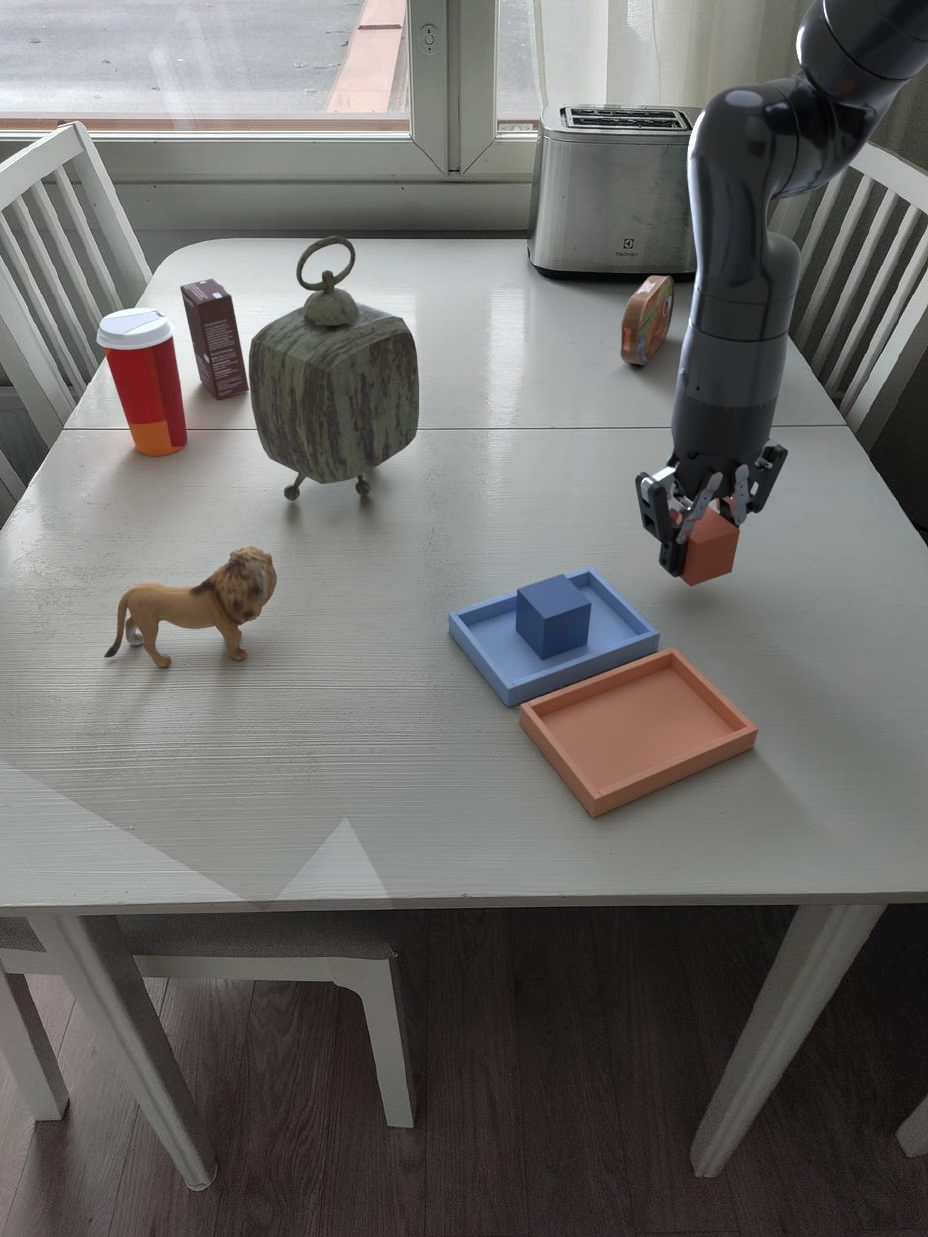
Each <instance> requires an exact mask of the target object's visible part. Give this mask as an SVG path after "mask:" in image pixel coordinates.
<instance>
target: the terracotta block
mask: <svg viewBox="0 0 928 1237" xmlns="http://www.w3.org/2000/svg"><path fill="white" fill-rule="evenodd" d="M681 519H682V516H681V514H679V516H678V519H677V521H676V523H678V524H680V521H681ZM740 533H741V530H740V528H739V529H738V528H737V527H735V526H734V525H733V524H732V523H730V522H729V521H728V520H726V519H725V518H724V517H722V516H721V515H720V514H719V512H717V511H716V510H715V509H713V507H711V506H709V505H708V507H707V509H706V511H705V513H704V516H703V518H702V519H701V520H697V521H696V522H695V525H694V527H693V529H692V532H691V534H690V536H689V539H688V540H687V541H688V542H689V544H688V550H687V556H686V562H685V568H684V573H683V575H682V576H679V579H681V580H682V581H683V582H685V583H686V585H688V586H689V587H693V586H696V585H699V584H702V583H704V582H708V581H711V580H713V579H717V578H719V577H722V576H725V575H727V574H730V573H732V571H733V567H734V562H735V557H736V552H737V548H738V543H739V539H740Z"/></svg>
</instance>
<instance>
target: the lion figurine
mask: <svg viewBox="0 0 928 1237" xmlns="http://www.w3.org/2000/svg"><path fill="white" fill-rule="evenodd" d="M229 556H230V557H229V559H228V561H227V562H226V563H224V565H222V566H219V568H218V569H216V570H215V571H214V572H213V573H212V575H210V576H208V577H207V578H205V580H203V581H201V583H200V584H198V585H190V586H188V585H187V586H170V585H169V586H168V585H164V584H160V583H158V582H152V581H149V582H143V583H139V584H137V585H134V586H133V587H132V588H130V589H127V590H126V591H125V592H124V593H123V595H122V596H121V597H120V600H119V602H118V607H117V613H116V614H117V616H116V617H117V619H116V620H117V621H116V637H115V640H114V641H113V644H112V645H111V646H110V647H109V648H108V650H107V651H106V653H105V654H104V655H103V658H105V659H107V658H113V657H114V656H116V654H117V653H118V652H119V650H120V648H121V647H122V646H121V645H122V642H123V638H124V631H125V639H126V642H128V644H129V645H132V646H140V645H141V646H142V647H143V649H144V651H145V652H146V653H147V654H148V655H149V657H150V658H151V659H152V661H153V663H154V664H155V665H156V666H158V667H160V668H167V667H169V666H171V664H172V657H171V655H169V654H162V653H161V652H159V650H158V649H157V645H156V641H157V638H158V634H159V629H160V628H159V627H160V626H159V624H160V622H161V621H165V622H167V623H169V624H171V625H174V626H176V627H179V628H182V629H189V630H203V629H208V628H213V627H215V628H216V629H217V630H218V631H219V632H220V634H221V636H222V638H223V640H224V643H225V645H226V649H227V651H228V653H229V655H230V657H232V659H234V660H235V661H243V660H245V659H247V657H248V652H247V651H248V650H247V649H246V648H242V647H241V646H240V644H239V640H240V638H241V637H242V636H243V632H242V631H241V630H240V629H239V626H242V625H243V624H246V623H248V622H252V621H255V620H256V619H257V618H258V617H260V615H261V613H262V609H263V607H264V606H266V605H267V604H268V602H269V601H270V600H271V598H272V597H273V595H274V592H275V589H276V586H277V583H278V575H277V571H276V569H275V567H274V563H273V558H272V555H271V553H266V552H264V550H262V549H258V548H257V547H255V546H253V545H248V546H244V547H240V548H237V549H235V550H233V551H231V552H230V553H229ZM127 610H128V611H129V614H130V617H128V618H127ZM126 618H127V619H126ZM137 630H139V631H140V633H136V631H137ZM142 644H143V645H142Z"/></svg>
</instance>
